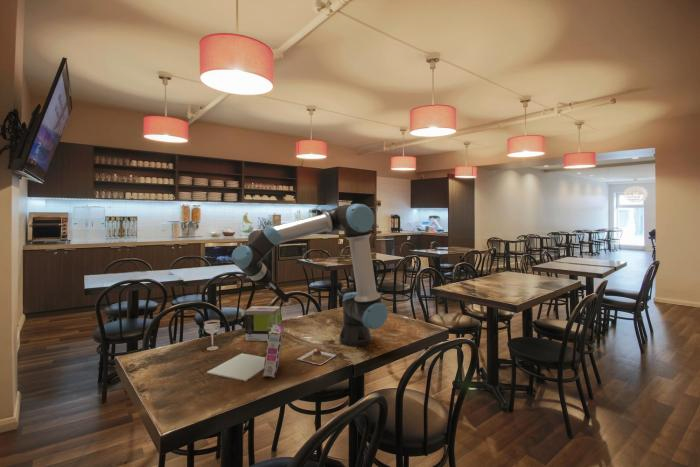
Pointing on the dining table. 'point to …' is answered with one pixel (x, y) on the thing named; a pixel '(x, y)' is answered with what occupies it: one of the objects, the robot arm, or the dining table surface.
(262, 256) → the robot arm
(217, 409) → the dining table surface
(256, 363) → the mat
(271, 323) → the tea box
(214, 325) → the wineglass
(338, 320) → the dining table surface
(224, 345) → the dining table surface
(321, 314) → the dining table surface
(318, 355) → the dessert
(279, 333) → the candy bar box
